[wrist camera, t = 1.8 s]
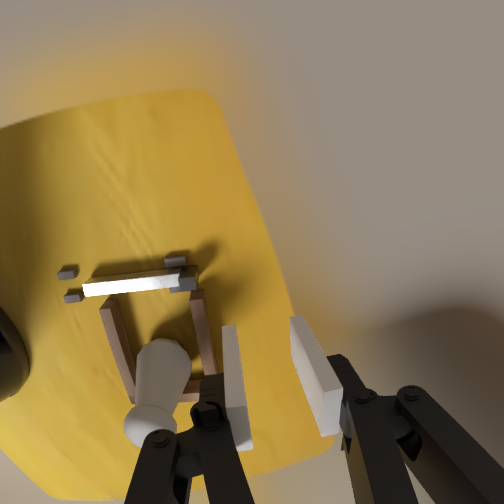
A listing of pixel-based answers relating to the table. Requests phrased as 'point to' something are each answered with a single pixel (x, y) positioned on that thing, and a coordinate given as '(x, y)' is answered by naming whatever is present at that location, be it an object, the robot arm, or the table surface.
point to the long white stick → (144, 281)
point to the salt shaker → (157, 388)
